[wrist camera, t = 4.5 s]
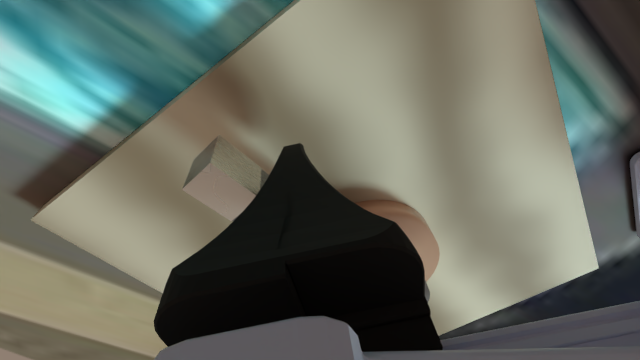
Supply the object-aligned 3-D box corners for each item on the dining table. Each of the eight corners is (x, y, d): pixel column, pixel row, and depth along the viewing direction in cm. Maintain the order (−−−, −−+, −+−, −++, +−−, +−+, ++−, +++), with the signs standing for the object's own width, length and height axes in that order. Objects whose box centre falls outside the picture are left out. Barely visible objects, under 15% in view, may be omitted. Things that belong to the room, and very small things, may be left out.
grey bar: (432, 270, 17) (446, 301, 16) (366, 308, 19) (373, 339, 17) (247, 107, 11) (242, 132, 10) (169, 182, 13) (154, 214, 11)
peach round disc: (395, 176, 16) (404, 194, 14) (448, 252, 19) (458, 272, 18) (278, 244, 17) (278, 264, 16) (347, 302, 21) (351, 322, 20)
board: (479, -152, 10) (497, -160, 9) (587, 256, 23) (598, 268, 22) (43, 205, 16) (30, 219, 15) (323, 370, 28) (325, 383, 28)
